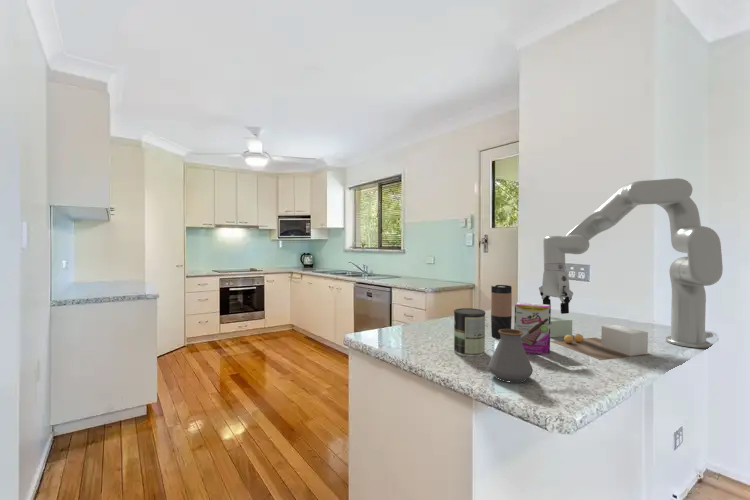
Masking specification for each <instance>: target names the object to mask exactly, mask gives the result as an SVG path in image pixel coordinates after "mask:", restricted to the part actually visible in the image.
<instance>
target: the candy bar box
mask: <svg viewBox="0 0 750 500" xmlns="http://www.w3.org/2000/svg"><path fill="white" fill-rule="evenodd" d="M551 314H552V305H545V304H543V303H542V304H541V303H530V302H529V303H528V302H518V301H517V302H515V303H514V323H513V324H514V327H513V329H515V330H519V331H522V332H523V335H524V334H526V333H527V332H528V331H529V330H530V329H532V328H533V327H534V326H535V325H537V324H539V323H540V322H541V321H544V319H547V318H548V321H547V322H546V323H547V324H546V323H545V324H544V325H542V326H541V327H540V328H539V329H537V330H536V331H534V332H533V333H531V334H530V335H528V336H527V337H525V338H524V339H523V340H522V341H521V343H522V345H523V347H524V350H525V352H526V354H528V355H535V356H544V355H543V354H547V355H549V354H550V351H551V342H550V341H551V337H550V325H548V324H550V323H551V322H550V321H551V317H552V315H551ZM549 320H550V321H549ZM523 335H521V336H523Z"/></svg>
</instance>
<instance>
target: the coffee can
mask: <svg viewBox="0 0 750 500" xmlns="http://www.w3.org/2000/svg"><path fill="white" fill-rule="evenodd" d="M453 314H454V317H453V318H454V319H453V326H454V327H453V330H454V331H453V332H454V333H453V337H454V338H453V353H455V354H456V355H459V356H463V357H468V358H476V357H482V356H484V355H486V350H485V348H486V346H485V345H486V343H485V342H486V341H485V340H486V339H485V338H486V311H485V310H483V309H478V308H473V307H472V308H468V307H467V308H466V307H463V308H456V309H454V310H453Z"/></svg>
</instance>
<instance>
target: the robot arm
mask: <svg viewBox="0 0 750 500" xmlns="http://www.w3.org/2000/svg"><path fill="white" fill-rule="evenodd" d="M692 193H693V186H692V184H691V183H690V181H688V180H687V179H684V178H676V177H674V178H664V179H647V180H638V181H634V182H631V183H627V184H625V185H623V186H621V187H620V188H619V189H617V191H616V192H614V193H613V194H612V195H611V196H610V197H609V198H608V199H606V201H605V202H604V203H602V204H601V205H600V206H599V207H598V208H597V209H595V210H594V211H593V212H592V213H590V214H589V215H588V216H587V217H586V218H585V219H583V220H581V221H580V223H578V224H577V225H576V226H574V228H572V229H571V230H570V231H569V232H568V233H567V234H566V235H565V236H562V235H549V236H545V237H543V272H542V273H543V274H542V285H541V286H539V287H538V290H539V294H540V296H541V300H542V304H545V305H551V304H552V303H551V299H550V298H551V297H553V298H559V300H560V302H561V303H560V314H561V315H564V314H565V315H566V314H569V313H570V306H569V305H570V303H571V301H572V299H573V298H572V297H573V296H574V292H573V291H572V290H571V288H570V281H569V276H568V272H567V271H566V268H567V266H566V254H567V255H568V254H569V255H570V254H571V255H581V254H584V253H585V252H587V251H588V250H589V248H590V240H592V239H593V238H594V237H596V236H597V235H598V234H600V233H602V232H605V231H607V230H609V229H611V228H612V227H614V226H615V225H617V224H618V223H619V222H620V221H622V220H623V218H624V217H626V216H627V215H628V214H630V212H632V211H633V210H634V209H635V208H636V207H637V206H641V205H657V206H659V207H661V208H662V209H664V211H665V212H666V214H667V216H668V219H669V228H670V230H669V231H670V242H671V243H670V244H671V246H672V248H673V249H674V250H675V251H676V252H679V253H682V254H687V256H682V257H678V258H677V259H674V261H672V262H671V264H670V266H669V270H668V272H669V278H670V283H671V309H670V310H671V313H670V314H671V316H670V317H671V318H670V326H671V327H670V335H669V336H668V335H667V336H666V337H665V341H666V342H667V343H669V344H672V345H676V346H682V347H688V348H696V349H697V348H698V349H706V348H707V349H708V348H710V347H711V346H712V343H711V342H710V341H708V340H707V339H709V338H713V337H714V333H713V332H711V331H709V332H707V331H706V309H707V308H706V307H707V306H706V304H707V303H706V301H707V294H706V289H705V286H706V287H708V286H712V285H713V286H714V285H715V284H717V283H718V282H719V281H720V279H721V278H722V275H723V270H724V269H723V255H722V242H721V239H720V237H719V234H718V233H717V232H716V231H715V230H714V229H713V228H711V227H708V226H704V225H701V218H700V213H699V209H698V208H699V207H698V206H697V204H696V202H695V201H694V200H693V199H692V198H691V196H692ZM551 306H552V305H551Z"/></svg>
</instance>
